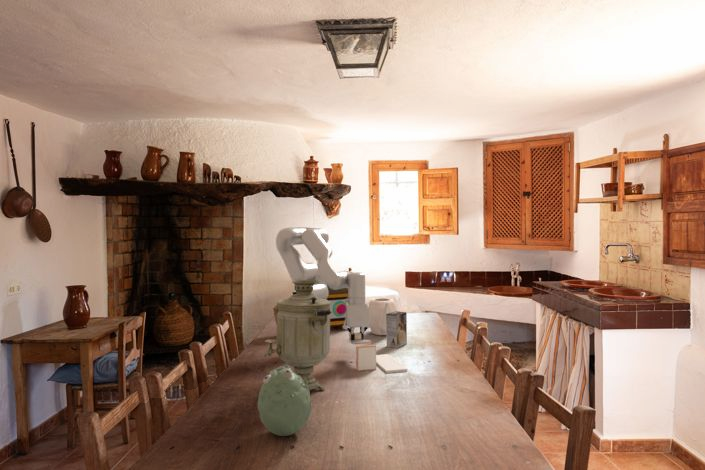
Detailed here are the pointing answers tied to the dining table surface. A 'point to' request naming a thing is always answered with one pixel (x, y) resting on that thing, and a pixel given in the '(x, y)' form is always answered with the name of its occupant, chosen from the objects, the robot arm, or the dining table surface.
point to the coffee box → (396, 329)
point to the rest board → (389, 364)
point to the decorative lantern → (337, 306)
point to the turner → (358, 339)
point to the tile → (365, 357)
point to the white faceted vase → (380, 314)
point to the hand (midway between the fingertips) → (357, 341)
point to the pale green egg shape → (284, 401)
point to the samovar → (302, 331)
